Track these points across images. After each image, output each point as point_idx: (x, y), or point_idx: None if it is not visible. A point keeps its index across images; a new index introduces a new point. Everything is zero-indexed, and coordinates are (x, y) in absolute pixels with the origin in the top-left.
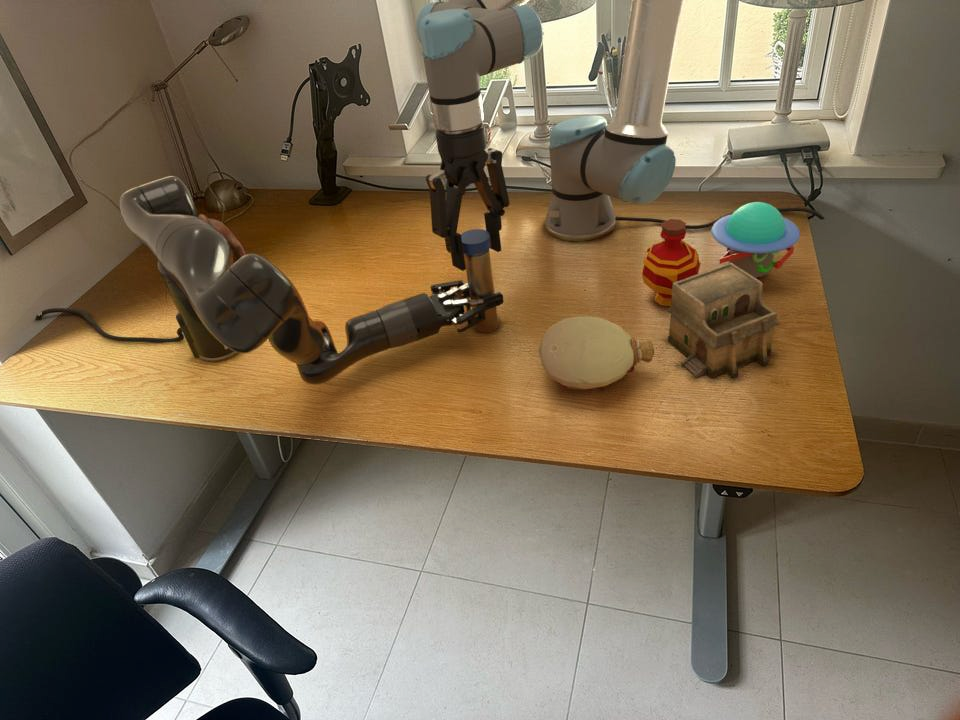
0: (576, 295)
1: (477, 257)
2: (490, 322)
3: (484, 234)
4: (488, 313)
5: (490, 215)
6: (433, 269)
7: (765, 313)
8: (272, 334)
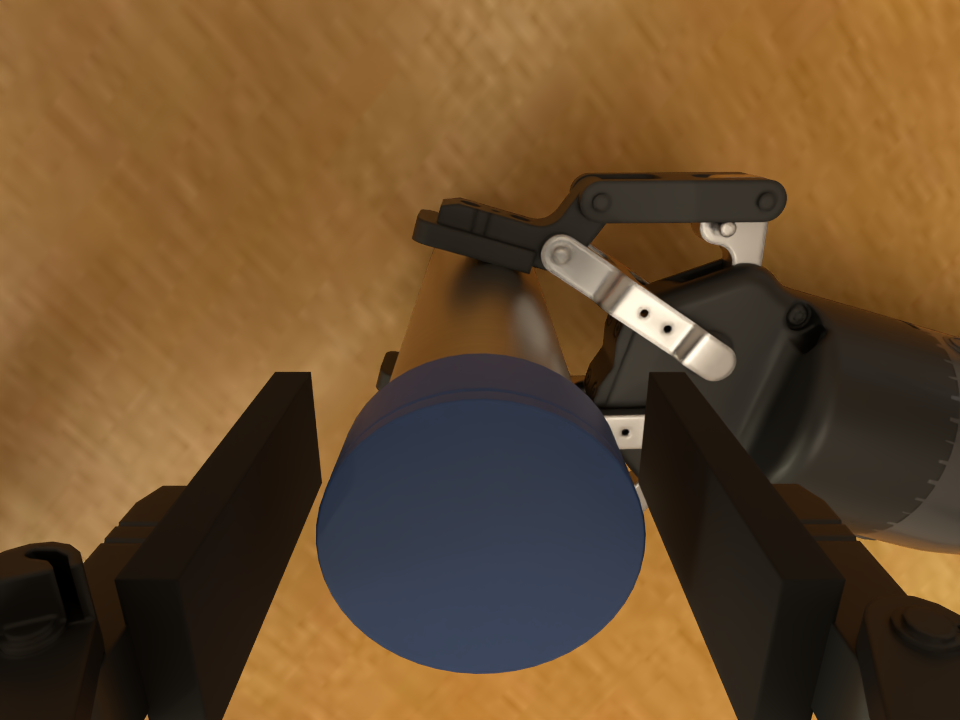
0: (24, 137)
1: None
2: None
3: (383, 503)
4: None
5: (176, 661)
6: (379, 700)
7: None
8: None
